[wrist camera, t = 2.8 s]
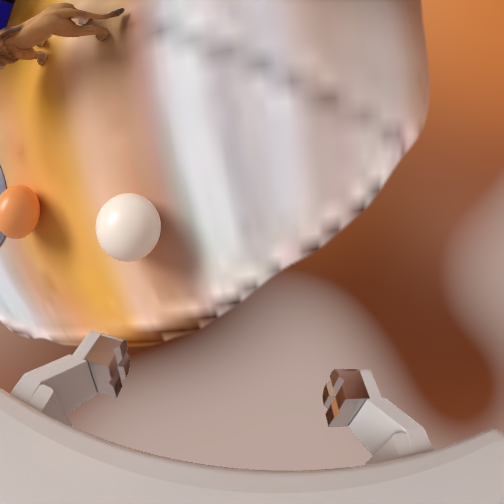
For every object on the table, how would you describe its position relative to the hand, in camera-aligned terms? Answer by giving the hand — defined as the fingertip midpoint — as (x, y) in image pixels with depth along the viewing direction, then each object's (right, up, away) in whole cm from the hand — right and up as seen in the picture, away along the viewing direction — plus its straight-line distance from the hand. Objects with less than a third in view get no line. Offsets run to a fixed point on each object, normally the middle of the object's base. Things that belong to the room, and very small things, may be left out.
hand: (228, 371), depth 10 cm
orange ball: (-23, +8, +11) cm, 27 cm away
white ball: (-9, +6, +11) cm, 16 cm away
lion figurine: (-18, +25, +7) cm, 32 cm away
